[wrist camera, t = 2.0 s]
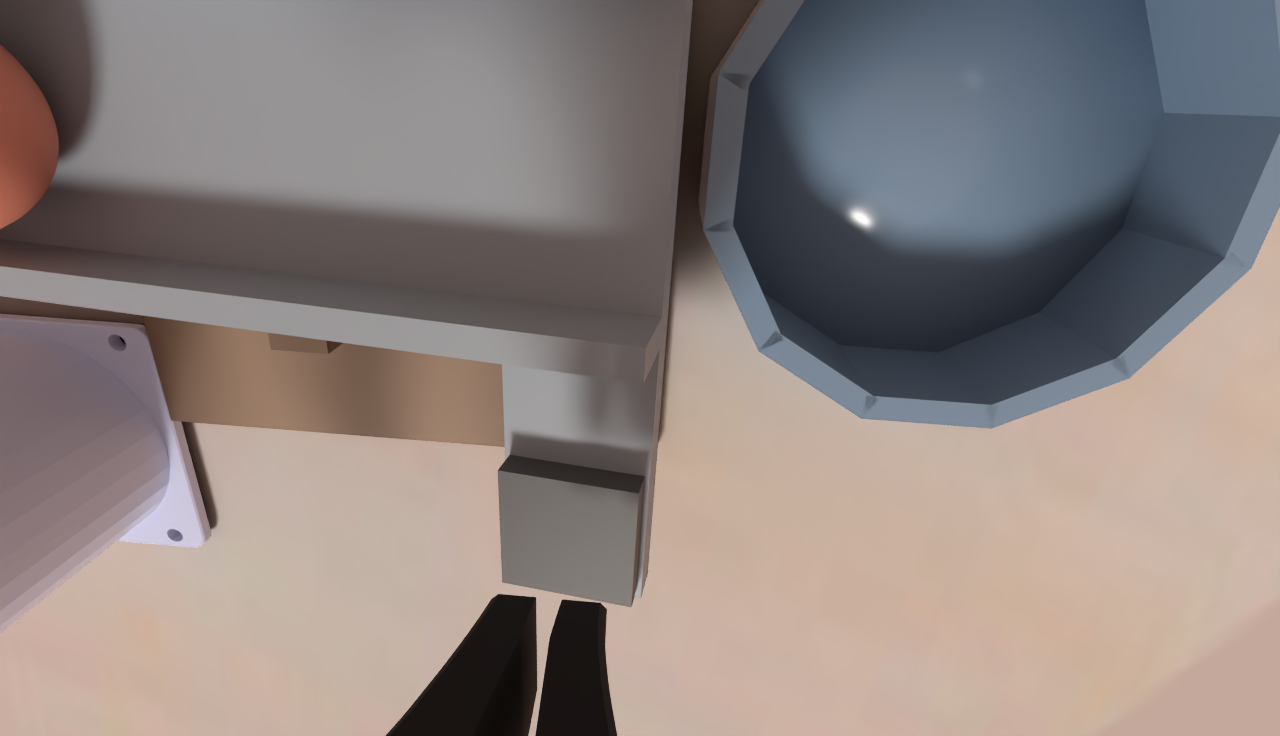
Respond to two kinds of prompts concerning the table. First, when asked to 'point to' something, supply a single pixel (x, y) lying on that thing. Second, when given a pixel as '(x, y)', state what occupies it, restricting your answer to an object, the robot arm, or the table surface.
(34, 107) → the ball
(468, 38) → the lever
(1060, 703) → the table surface
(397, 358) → the catapult base
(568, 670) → the robot arm
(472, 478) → the table surface
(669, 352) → the table surface
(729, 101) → the bowl
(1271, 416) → the table surface
